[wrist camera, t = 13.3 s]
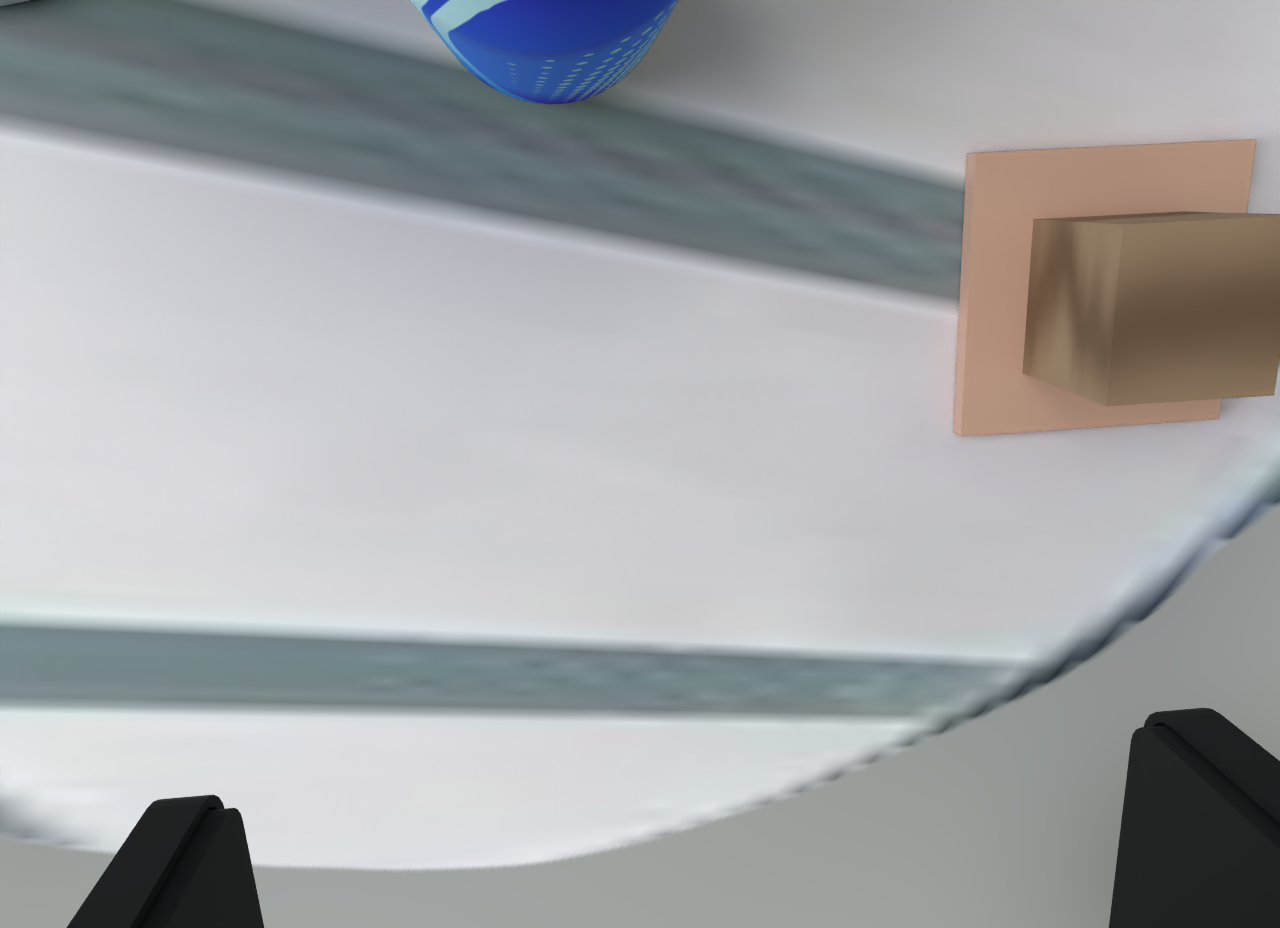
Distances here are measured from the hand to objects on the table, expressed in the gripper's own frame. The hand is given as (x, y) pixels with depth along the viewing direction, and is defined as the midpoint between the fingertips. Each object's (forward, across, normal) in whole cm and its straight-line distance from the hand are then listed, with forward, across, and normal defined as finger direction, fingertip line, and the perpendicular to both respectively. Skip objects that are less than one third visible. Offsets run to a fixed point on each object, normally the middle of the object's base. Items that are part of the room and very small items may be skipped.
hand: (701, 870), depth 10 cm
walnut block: (+28, -20, -2) cm, 34 cm away
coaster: (+28, -20, -2) cm, 35 cm away
